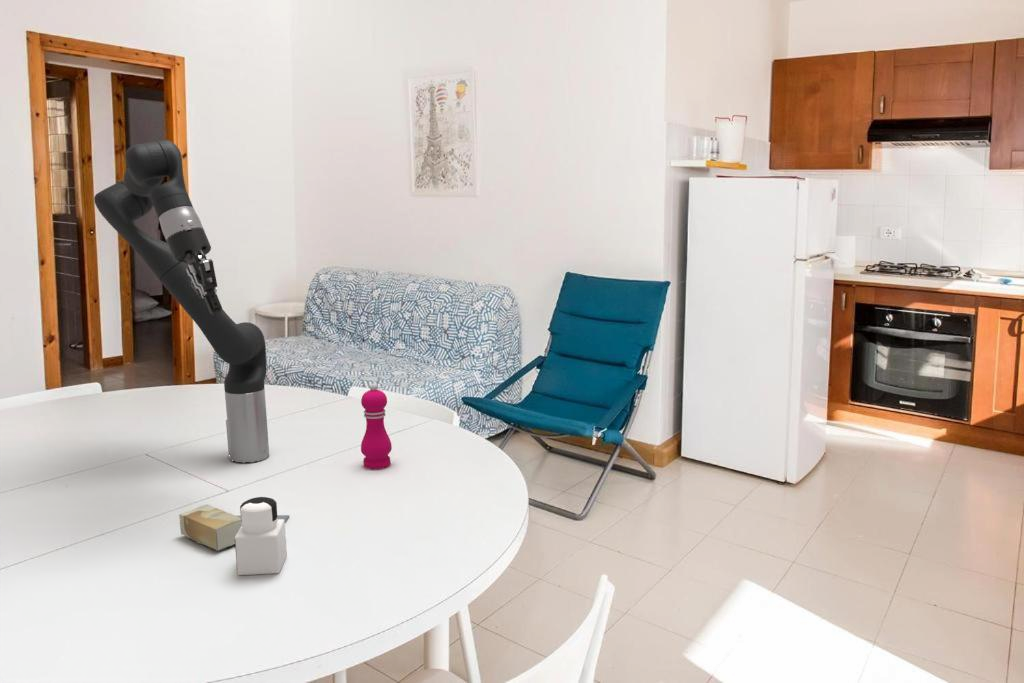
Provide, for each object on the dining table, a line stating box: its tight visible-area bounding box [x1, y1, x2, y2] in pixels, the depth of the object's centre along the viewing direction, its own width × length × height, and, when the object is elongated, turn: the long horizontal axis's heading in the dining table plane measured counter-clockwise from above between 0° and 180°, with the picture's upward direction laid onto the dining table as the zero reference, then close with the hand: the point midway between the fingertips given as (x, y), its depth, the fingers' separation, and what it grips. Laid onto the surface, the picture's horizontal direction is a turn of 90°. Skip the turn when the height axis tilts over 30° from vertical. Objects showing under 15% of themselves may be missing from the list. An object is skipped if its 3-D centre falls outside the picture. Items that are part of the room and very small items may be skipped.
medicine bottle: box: [234, 496, 288, 576], centre depth 141 cm, size 7×7×12 cm
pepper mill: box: [360, 383, 393, 470], centre depth 192 cm, size 7×7×20 cm
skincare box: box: [179, 504, 242, 551], centre depth 153 cm, size 6×4×12 cm
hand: (217, 312), depth 163 cm, fingers closed
